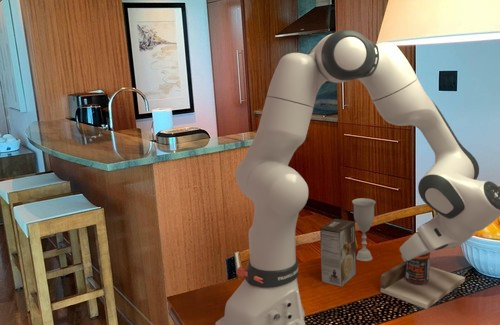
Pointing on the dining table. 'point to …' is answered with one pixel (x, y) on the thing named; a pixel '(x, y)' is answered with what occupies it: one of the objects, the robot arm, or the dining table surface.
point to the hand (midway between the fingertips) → (415, 253)
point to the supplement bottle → (418, 269)
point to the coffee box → (338, 252)
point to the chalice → (364, 223)
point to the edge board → (419, 294)
